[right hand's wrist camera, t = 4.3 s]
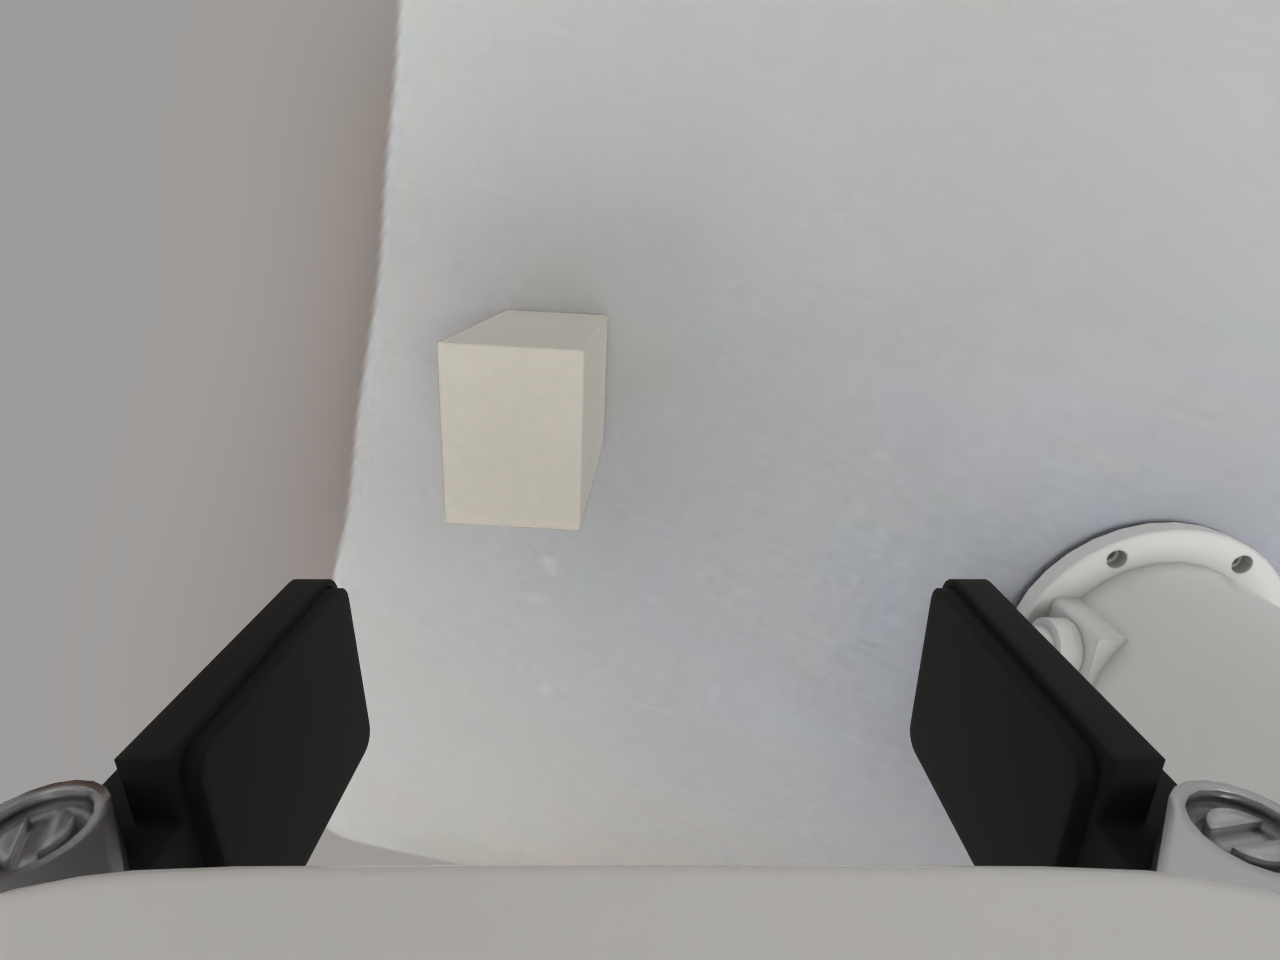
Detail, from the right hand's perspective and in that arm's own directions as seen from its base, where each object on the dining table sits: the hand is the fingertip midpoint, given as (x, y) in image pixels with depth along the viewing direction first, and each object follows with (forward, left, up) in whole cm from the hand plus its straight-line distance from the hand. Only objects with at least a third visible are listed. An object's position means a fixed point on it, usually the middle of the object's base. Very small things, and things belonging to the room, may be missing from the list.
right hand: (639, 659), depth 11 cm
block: (-4, 0, -20) cm, 20 cm away
